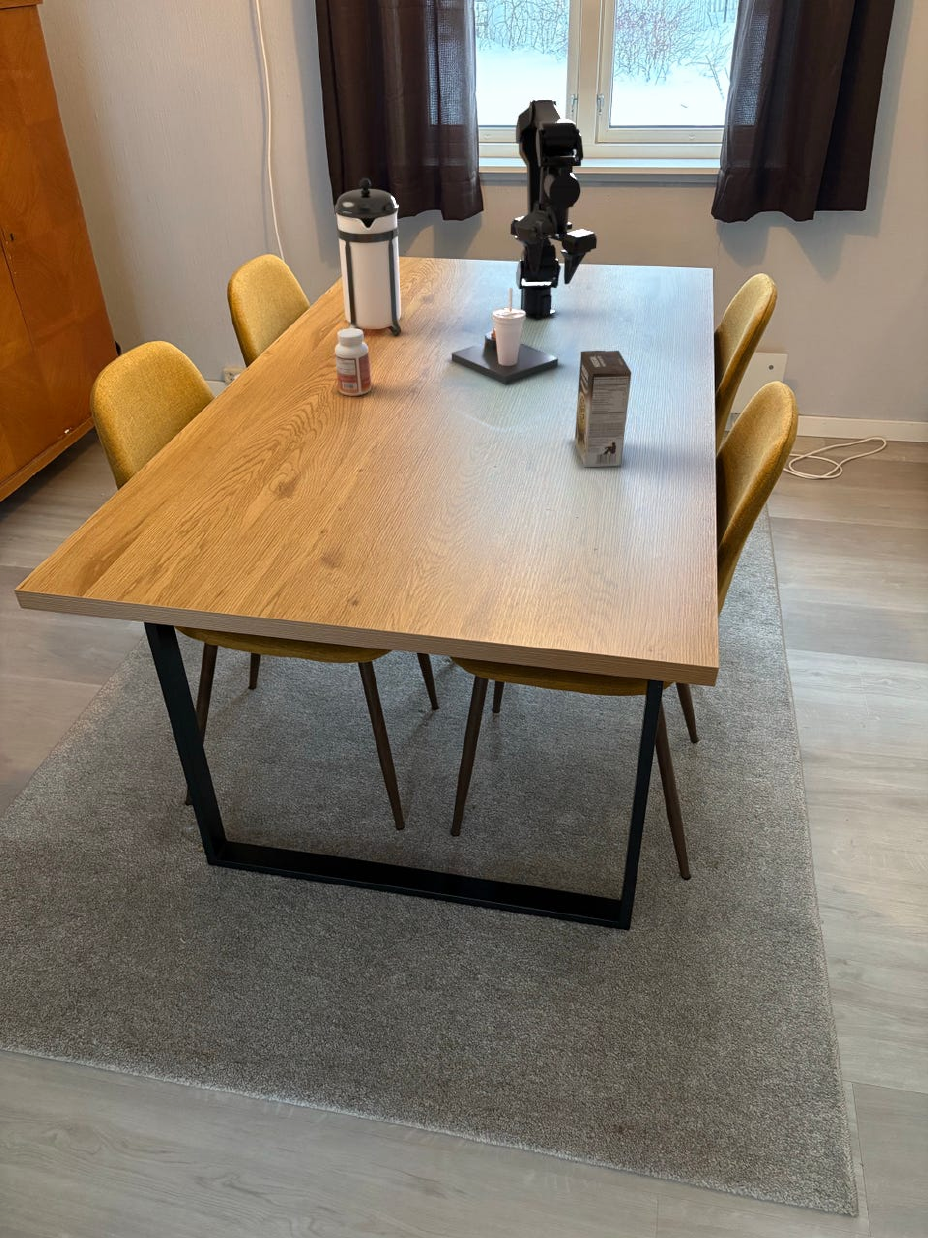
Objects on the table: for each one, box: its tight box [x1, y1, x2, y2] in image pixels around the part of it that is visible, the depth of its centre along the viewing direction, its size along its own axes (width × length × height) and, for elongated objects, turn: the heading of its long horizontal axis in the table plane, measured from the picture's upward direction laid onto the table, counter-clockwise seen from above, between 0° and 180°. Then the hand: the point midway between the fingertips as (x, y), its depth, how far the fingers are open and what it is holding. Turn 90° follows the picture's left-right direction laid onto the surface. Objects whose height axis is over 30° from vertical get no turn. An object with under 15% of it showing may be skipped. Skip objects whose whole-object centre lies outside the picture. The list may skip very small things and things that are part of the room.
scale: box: [451, 329, 559, 386], centre depth 186 cm, size 16×14×4 cm
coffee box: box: [574, 350, 632, 468], centre depth 151 cm, size 9×6×16 cm
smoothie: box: [491, 288, 527, 366], centre depth 179 cm, size 6×6×14 cm
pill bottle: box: [334, 327, 372, 397], centre depth 173 cm, size 6×6×11 cm
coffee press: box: [334, 177, 402, 336], centre depth 195 cm, size 17×16×30 cm
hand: (550, 278), depth 189 cm, fingers open, 9 cm apart
